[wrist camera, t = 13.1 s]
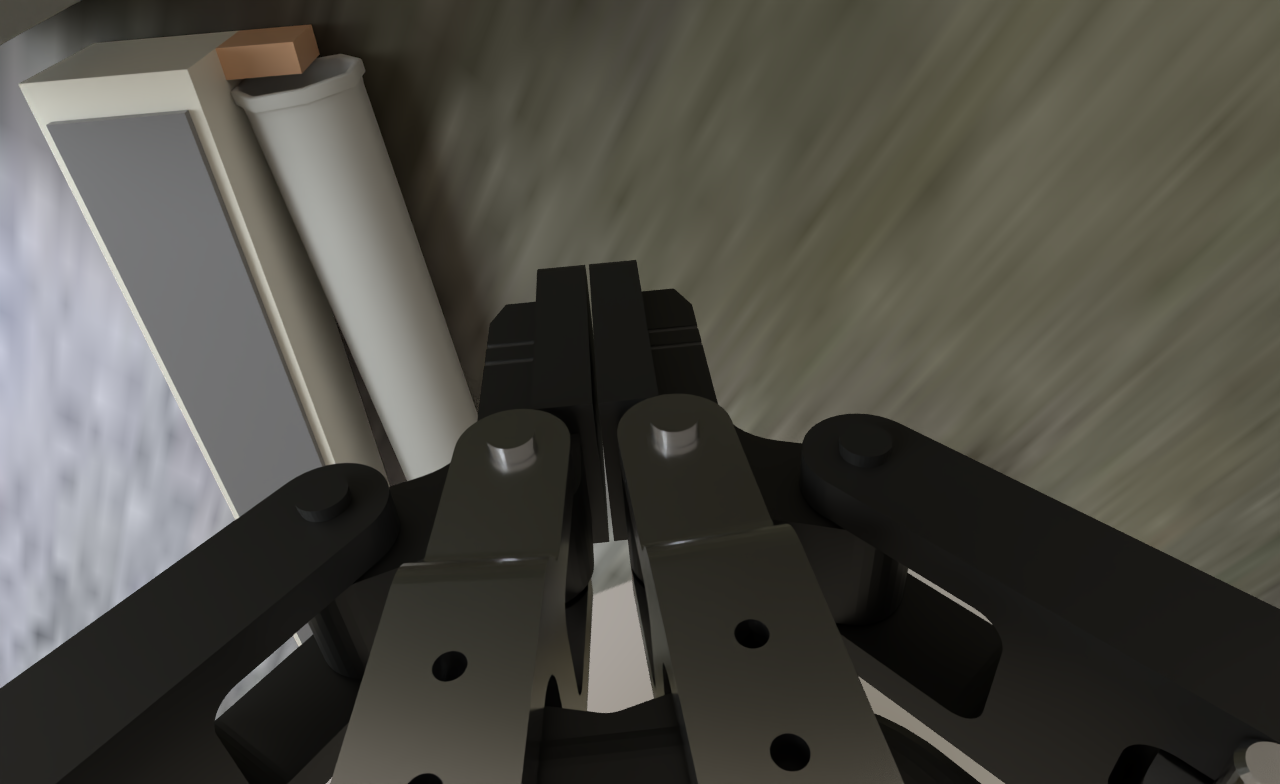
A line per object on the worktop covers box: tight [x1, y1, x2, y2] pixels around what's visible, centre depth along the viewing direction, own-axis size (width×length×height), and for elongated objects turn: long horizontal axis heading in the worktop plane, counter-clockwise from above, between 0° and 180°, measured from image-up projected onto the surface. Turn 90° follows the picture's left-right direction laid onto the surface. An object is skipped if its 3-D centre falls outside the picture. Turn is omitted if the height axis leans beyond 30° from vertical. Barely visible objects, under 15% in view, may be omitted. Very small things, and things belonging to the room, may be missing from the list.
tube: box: [230, 54, 478, 481], centre depth 41 cm, size 5×5×25 cm
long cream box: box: [18, 24, 390, 646], centre depth 42 cm, size 9×36×6 cm, turn 4°
